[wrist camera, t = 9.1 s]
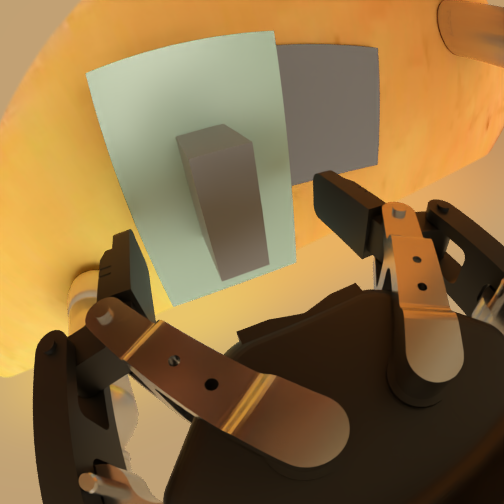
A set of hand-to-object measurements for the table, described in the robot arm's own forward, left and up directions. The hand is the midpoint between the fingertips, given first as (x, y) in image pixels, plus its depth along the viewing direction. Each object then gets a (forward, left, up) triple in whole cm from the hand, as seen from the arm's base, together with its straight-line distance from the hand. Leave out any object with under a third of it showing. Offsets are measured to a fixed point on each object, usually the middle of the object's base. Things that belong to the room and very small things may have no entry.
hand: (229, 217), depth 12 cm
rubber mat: (-14, 0, -15) cm, 20 cm away
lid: (0, 0, -5) cm, 5 cm away
